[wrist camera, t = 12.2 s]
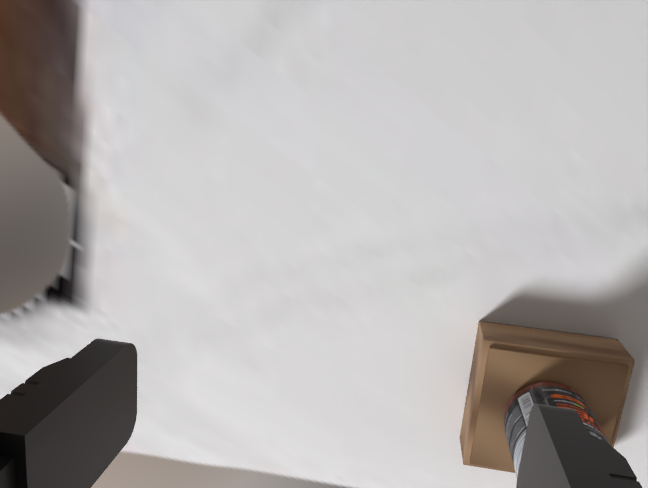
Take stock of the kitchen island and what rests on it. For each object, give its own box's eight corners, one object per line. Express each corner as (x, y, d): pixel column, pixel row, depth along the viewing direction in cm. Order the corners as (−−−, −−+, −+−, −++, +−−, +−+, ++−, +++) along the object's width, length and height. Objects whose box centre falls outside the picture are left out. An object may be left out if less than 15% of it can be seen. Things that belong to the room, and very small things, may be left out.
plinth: (479, 321, 46) (485, 342, 42) (617, 339, 44) (636, 363, 41) (459, 437, 48) (463, 467, 44) (589, 457, 47) (605, 490, 43)
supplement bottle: (606, 399, 41) (675, 510, 31) (563, 467, 43) (614, 594, 32) (526, 363, 42) (566, 461, 31) (486, 432, 43) (511, 547, 32)
